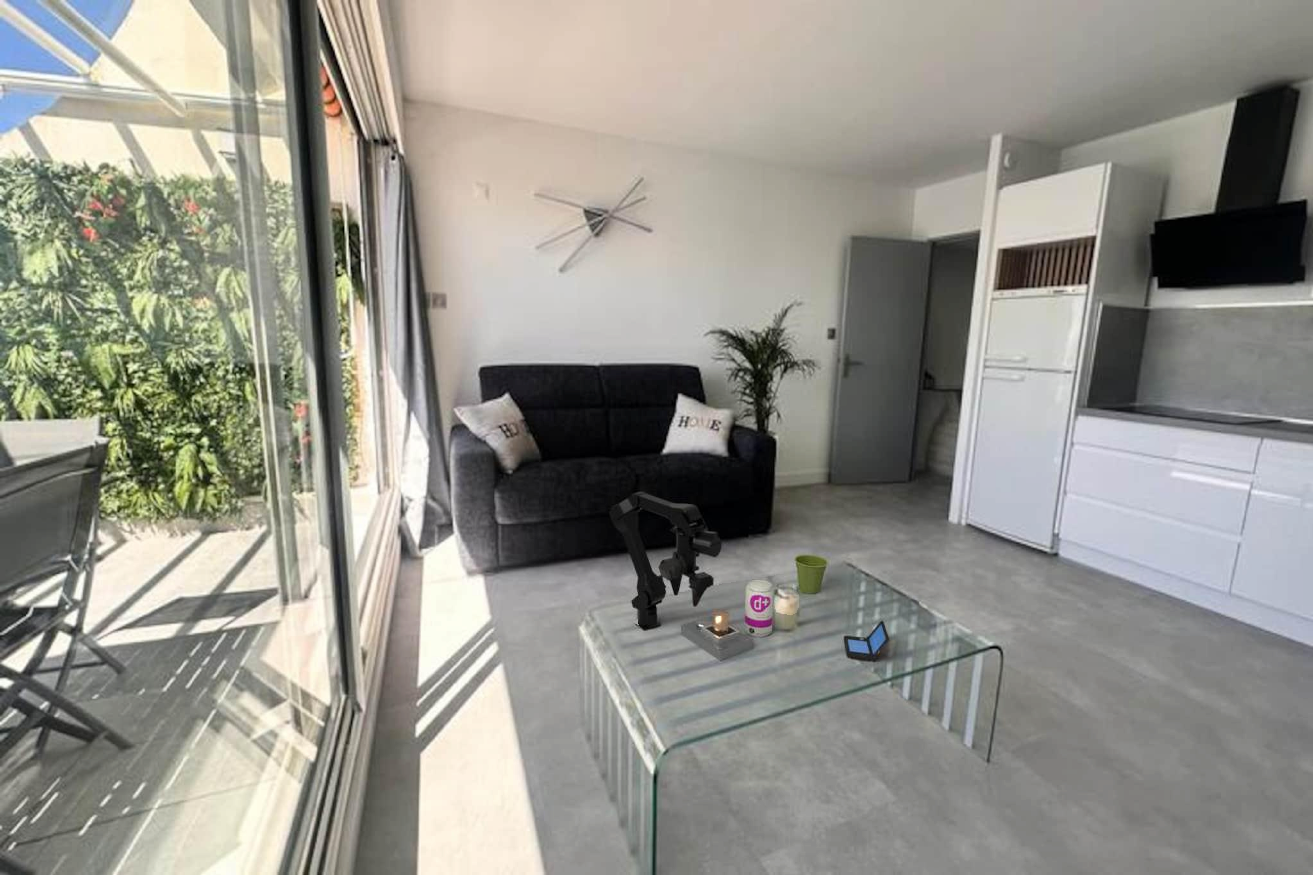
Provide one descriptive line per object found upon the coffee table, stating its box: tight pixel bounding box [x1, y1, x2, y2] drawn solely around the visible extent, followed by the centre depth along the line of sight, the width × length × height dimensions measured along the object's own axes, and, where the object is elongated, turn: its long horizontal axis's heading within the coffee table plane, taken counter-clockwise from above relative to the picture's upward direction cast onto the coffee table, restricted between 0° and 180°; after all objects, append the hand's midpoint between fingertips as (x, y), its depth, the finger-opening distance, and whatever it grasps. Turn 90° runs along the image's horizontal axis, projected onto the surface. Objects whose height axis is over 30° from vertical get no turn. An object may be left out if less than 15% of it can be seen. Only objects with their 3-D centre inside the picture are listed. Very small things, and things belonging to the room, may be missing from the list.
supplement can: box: [743, 579, 775, 638], centre depth 175 cm, size 8×8×15 cm
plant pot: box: [793, 554, 829, 595], centre depth 207 cm, size 12×12×11 cm
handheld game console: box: [843, 620, 890, 663], centre depth 165 cm, size 12×11×7 cm
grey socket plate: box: [680, 615, 754, 661], centre depth 169 cm, size 18×12×4 cm, turn 34°
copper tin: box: [712, 609, 730, 637], centre depth 167 cm, size 4×4×8 cm
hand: (685, 600), depth 169 cm, fingers open, 9 cm apart
